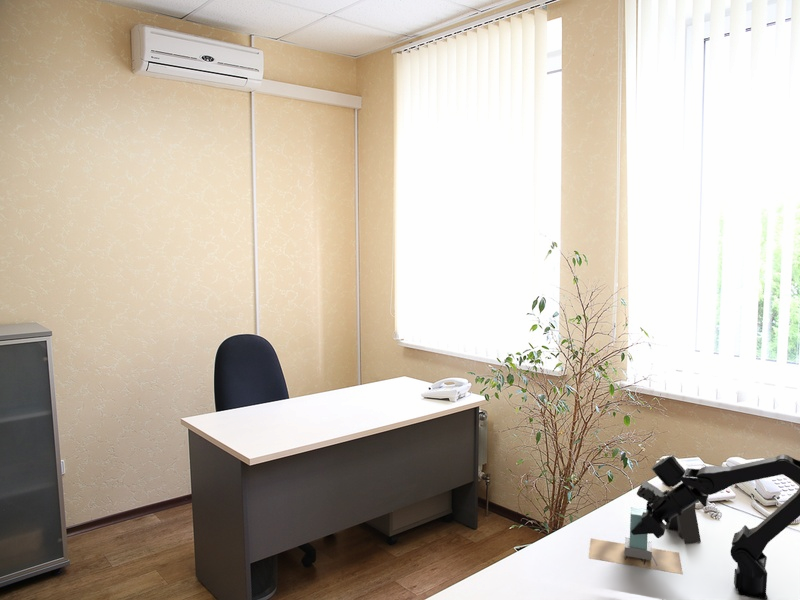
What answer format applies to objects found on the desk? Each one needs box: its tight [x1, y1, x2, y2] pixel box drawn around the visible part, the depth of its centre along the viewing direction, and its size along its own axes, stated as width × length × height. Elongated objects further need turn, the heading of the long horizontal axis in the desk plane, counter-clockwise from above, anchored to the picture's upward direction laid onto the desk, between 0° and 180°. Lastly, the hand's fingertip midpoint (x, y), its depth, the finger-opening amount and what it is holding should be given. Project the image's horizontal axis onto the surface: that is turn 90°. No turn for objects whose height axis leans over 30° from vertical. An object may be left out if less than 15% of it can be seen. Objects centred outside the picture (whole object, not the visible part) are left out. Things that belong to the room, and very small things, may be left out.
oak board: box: [588, 538, 684, 575], centre depth 173 cm, size 24×12×2 cm, turn 70°
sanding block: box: [624, 507, 653, 560], centre depth 172 cm, size 7×6×12 cm
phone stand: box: [665, 502, 702, 545], centre depth 187 cm, size 9×6×12 cm, turn 13°
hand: (633, 529), depth 173 cm, fingers closed on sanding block, 5 cm apart
